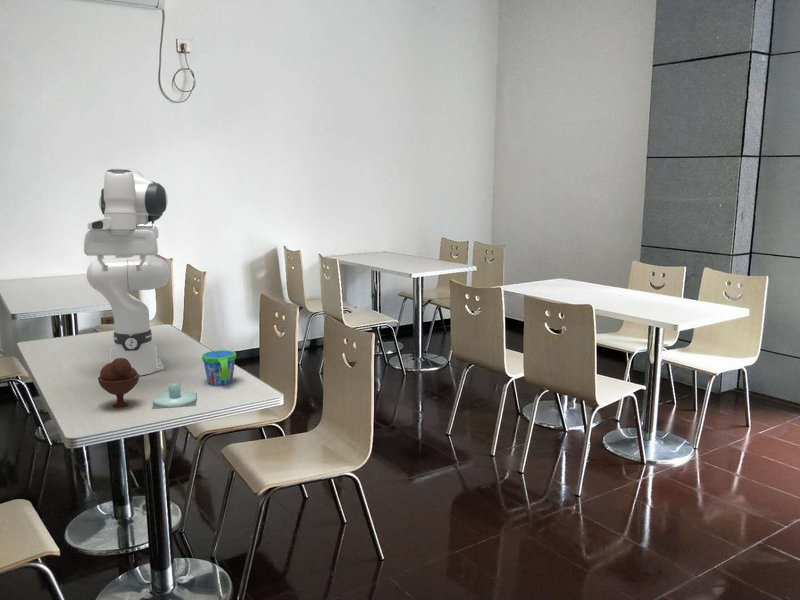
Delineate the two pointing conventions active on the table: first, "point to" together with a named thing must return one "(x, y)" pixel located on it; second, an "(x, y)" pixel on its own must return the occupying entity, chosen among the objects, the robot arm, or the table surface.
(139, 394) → the table surface
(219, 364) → the snack cup
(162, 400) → the lid
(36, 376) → the table surface
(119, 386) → the ice cream bowl
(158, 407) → the mat
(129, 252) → the robot arm
